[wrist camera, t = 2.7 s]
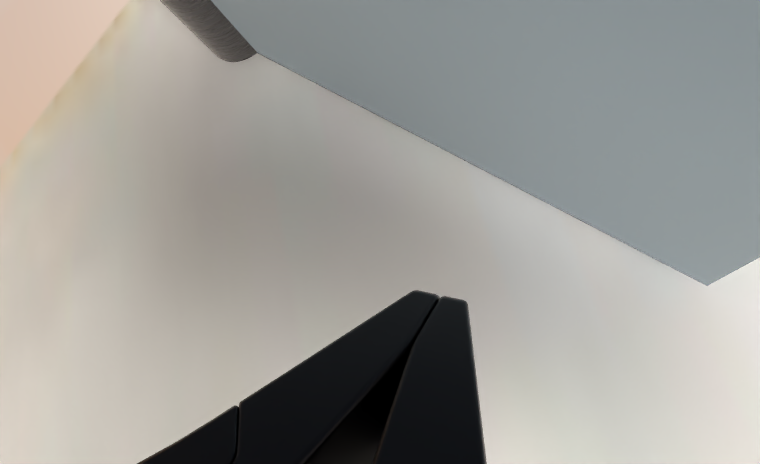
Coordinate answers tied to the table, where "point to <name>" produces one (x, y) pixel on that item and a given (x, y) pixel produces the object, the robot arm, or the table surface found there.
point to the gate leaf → (561, 102)
